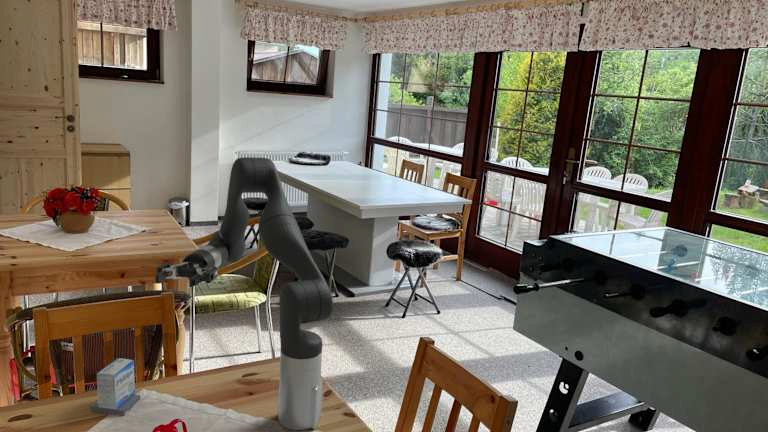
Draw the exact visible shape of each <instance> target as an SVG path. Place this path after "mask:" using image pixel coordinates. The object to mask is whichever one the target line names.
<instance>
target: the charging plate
mask: <svg viewBox="0 0 768 432" xmlns="http://www.w3.org/2000/svg"><path fill="white" fill-rule="evenodd" d="M140 399H141V394H135V393H134V394H133V395H132V396H131V397H130V398H129V399H127V400H126V401H125V402H124V403H123V404H122V405H121V406H120V407H119V408H118V409H117V410H114V409H106V408H100V407H98V399H97V400H96V401H95V402H93V403H92V404H91V405H90V411H91V412H96V413H104V414H110V415H111V414H112V413H113V414H112V415H116V414H122V415H121V416H123V415H124V414H125V413H126V412H127V411H128V410H129V411H131V410H132V409H133V408H134V407H135V406H136V405H137V404H138V403H139V402H140V401H141V400H140ZM139 400H140V401H139ZM138 401H139V402H138ZM137 402H138V403H137ZM136 403H137V404H136ZM135 404H136V405H135ZM134 405H135V406H134ZM133 406H134V407H133ZM132 407H133V408H132ZM131 408H132V409H131ZM129 411H128V412H129ZM128 412H127V413H128ZM127 413H126V414H127ZM126 414H125V415H126ZM125 415H124V416H125Z"/></svg>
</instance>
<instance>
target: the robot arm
mask: <svg viewBox="0 0 768 432" xmlns="http://www.w3.org/2000/svg"><path fill="white" fill-rule="evenodd" d="M277 169H278V168H277V167H276V165H275V163H274V161H273V160H272V159H270V158H267V157H249V156H247V157H246V156H245V157H238V158H236V159H235V160H234V161H233V163H232V167H231V170H230V176H229V183H228V188H227V189H228V190H227V198H226V208H225V211H224V215H223V219H222V220H221V224H220V227H219V230H217V231H215V232H214V233H213V234H212V236H211V237H210V239H209V240H208V243H207V244H206V245H204V246H201V247H199V248H198V249H196V250H194V251H192V252H191V253H189V254H188V255H186V256H185V257H184V258H183V260H182V261H181V263H178V264H173V263H172V262H171V261H167V262H165V263H163V264H161V265H159V266H157V267H156V274H155V283H156V284H162V283H163V282H164V281H166V280H167V279H172V280H178V279H189V285H188V286H189V288H194V287H196V286H198V285H199V284H204V282H205V284H211V283H212V282H214V281H215V280H216V279H217V278H218V270H219V269H218V268H219V267H221V266H223V265H224V264H225V263H226V262H228V263H230V264H233V263H237V262H239V261H240V260H241V259H242V257H243V255H244V254H245V251H246V250H245V249H246V234H245V233H246V230H247V228H248V225H249V222H250V212H249V209H248V207H247V205H246V204H245V201H244V200H243V198H242V195H243V194H244V193H245V194H249V193H252V194H257V193H258V194H259V193H260V194H261V193H262V194H264V195H265V196H266V199H267V201H266V204H265V206H264V208H263V210H262V212H261V215H260V217H259V220H258V224H257V225H258V232H259V235H260V238H261V241H262V243H263V245H264V248H265V250H266V251H267V252H268V254H269V255H270V256H271V257H272V258H273V259H274V260H277V262H279V263H280V264H281V265H283V266H284V267H285V268H287V269H289V270H290V271H291V272H293V274H294V275H295V277H297V278H298V279H299V281H298V280H297V281H291V282H286V283H284V284H282V286H281V288H280V292H279V303H278V305H279V338H280V355H279V356H280V357H279V382H278V383H279V384H278V386H279V387H278V388H279V389H278V411H277V414H278V417H277V419H278V423H279V424H280V425H281V426H282V427H283V428H285V429H288V430H291V431H292V430H293V431H304V430H309V429H311V430H312V429H313V430H314V429H316V427H317V425H318V423H319V420H320V418H321V415H322V407H323V406H322V405H323V404H322V403H323V402H322V401H323V381H324V379H323V377H322V360H323V359H322V358H323V357H322V356H323V339H322V337H321V336H320V335H319V334H317V333H315V332H313V331H310V330H307V329H302V328H301V325H302V324H309V323H313V322H316V323H317V322H320V321H325V320H327V319H328V318H330V317H331V316H332V313H333V311H334V300H333V295H332V292H331V289H330V287H329V285H328V283H327V281H326V279H325V277H324V275H323V273H322V272H321V271H320V268H319V267H318V265H317V264H316V262H315V260H314V258H313V256H312V255H311V252H310V250H309V247H308V245H307V243H306V241H305V239H304V236H303V234H302V231H301V228H300V227H299V224H298V222H297V219H296V217H295V216H294V213H293V212H292V209H291V207H290V205H289V202H288V200H287V198H286V195H285V192H284V188H283V185H282V181H281V179H280V175H279V172H278V170H277ZM176 274H177V275H176Z"/></svg>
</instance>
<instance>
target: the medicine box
mask: <svg viewBox="0 0 768 432" xmlns="http://www.w3.org/2000/svg"><path fill="white" fill-rule="evenodd" d="M96 383H97V384H96V385H97V388H96V389H97V400H98V407H100V408H106V409H114V410H117V409H118V408H119V407H120V406H121V405H122V404H123V403H124V402H125V401H126V400H127V399H129V398H130V397H131V396H132V395H133V394H135V392H136V387H135V386H136V385H135V383H136V382H135V360H134V359H128V358H121V357H120V358H119V357H118V358H115V359H114V360H113V361H112V362H111V363H108V365H107V366H104V368H103V369H101V370H99V371H98V372H97V373H96Z"/></svg>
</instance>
